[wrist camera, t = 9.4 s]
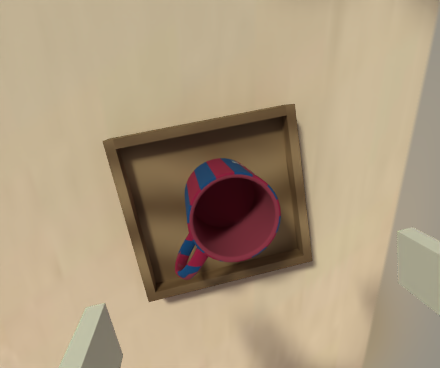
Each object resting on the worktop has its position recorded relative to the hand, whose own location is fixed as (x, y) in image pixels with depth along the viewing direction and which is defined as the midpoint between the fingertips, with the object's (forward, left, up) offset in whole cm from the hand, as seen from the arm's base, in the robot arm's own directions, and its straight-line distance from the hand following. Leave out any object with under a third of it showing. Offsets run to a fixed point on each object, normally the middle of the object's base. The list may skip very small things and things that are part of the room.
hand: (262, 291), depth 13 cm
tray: (0, 0, -16) cm, 16 cm away
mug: (+1, -1, -15) cm, 15 cm away
